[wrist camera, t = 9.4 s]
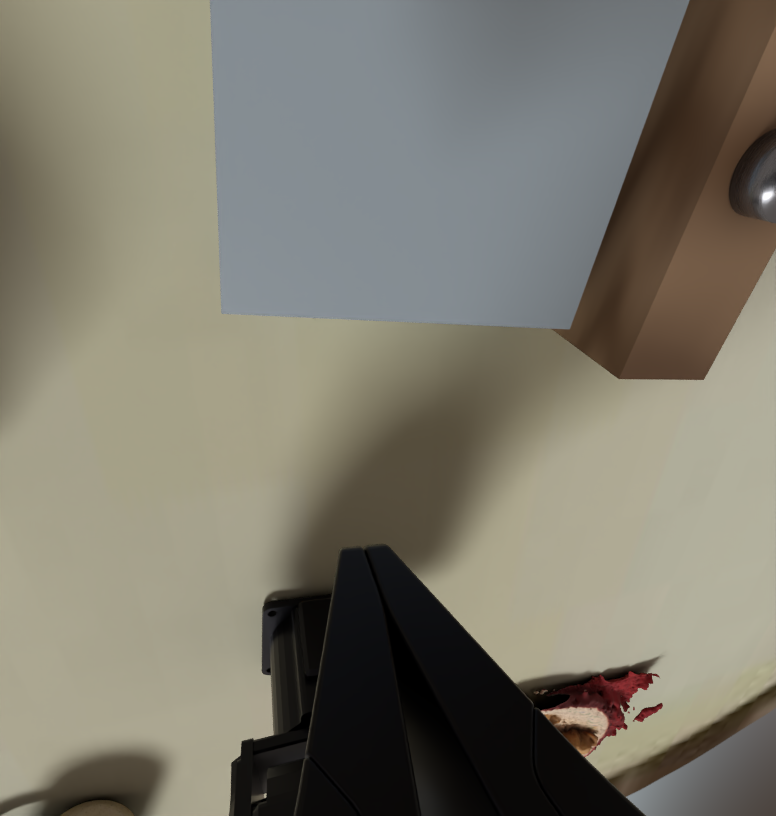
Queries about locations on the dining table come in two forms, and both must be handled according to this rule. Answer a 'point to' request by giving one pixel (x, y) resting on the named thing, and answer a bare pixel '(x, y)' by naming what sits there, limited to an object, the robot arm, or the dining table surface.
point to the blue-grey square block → (426, 152)
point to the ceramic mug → (99, 809)
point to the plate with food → (597, 709)
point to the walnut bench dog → (690, 203)
